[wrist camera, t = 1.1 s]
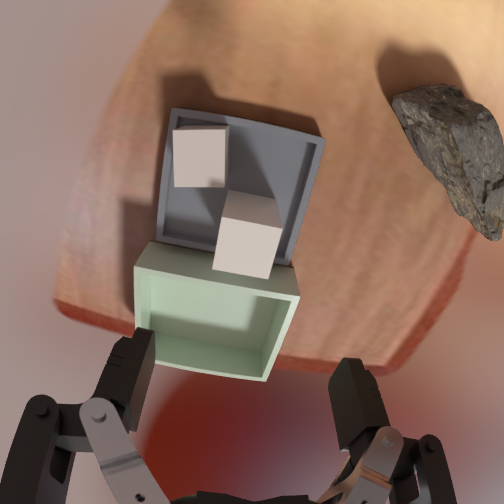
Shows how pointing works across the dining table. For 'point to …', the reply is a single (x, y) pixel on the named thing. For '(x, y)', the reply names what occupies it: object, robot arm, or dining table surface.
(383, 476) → the robot arm
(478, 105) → the rock
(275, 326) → the green bin
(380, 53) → the dining table surface
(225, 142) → the smooth off-white cube
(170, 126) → the slate tray
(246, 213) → the off-white rectangular block
